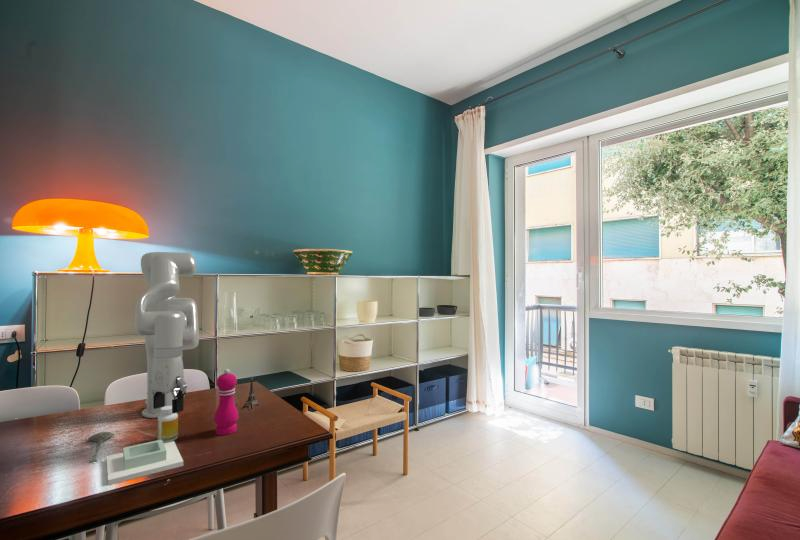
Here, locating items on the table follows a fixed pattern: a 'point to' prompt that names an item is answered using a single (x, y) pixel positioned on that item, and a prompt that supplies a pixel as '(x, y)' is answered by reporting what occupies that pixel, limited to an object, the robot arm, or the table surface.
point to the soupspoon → (99, 442)
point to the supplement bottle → (167, 425)
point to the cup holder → (142, 460)
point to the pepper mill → (226, 404)
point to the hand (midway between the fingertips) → (168, 409)
